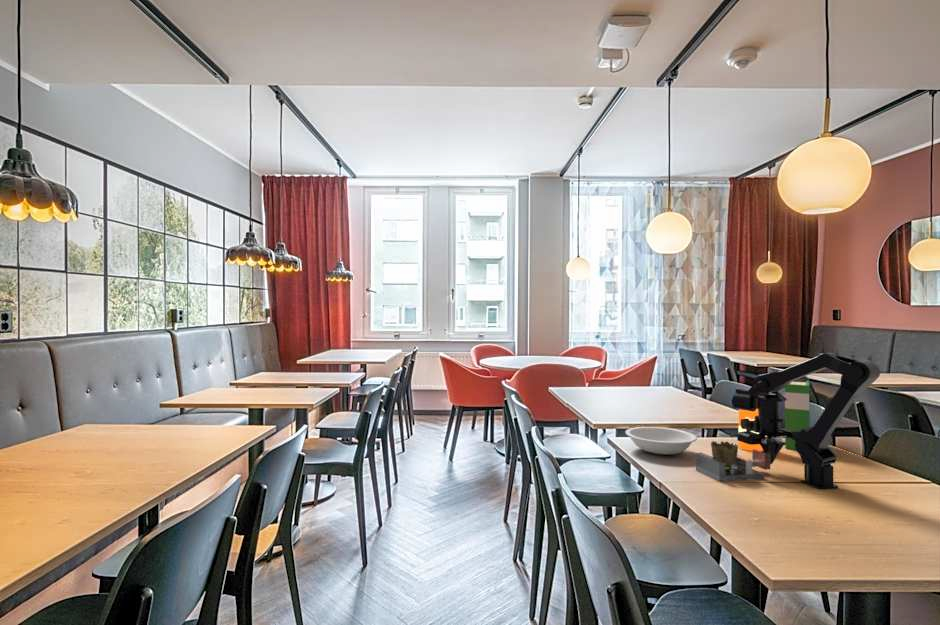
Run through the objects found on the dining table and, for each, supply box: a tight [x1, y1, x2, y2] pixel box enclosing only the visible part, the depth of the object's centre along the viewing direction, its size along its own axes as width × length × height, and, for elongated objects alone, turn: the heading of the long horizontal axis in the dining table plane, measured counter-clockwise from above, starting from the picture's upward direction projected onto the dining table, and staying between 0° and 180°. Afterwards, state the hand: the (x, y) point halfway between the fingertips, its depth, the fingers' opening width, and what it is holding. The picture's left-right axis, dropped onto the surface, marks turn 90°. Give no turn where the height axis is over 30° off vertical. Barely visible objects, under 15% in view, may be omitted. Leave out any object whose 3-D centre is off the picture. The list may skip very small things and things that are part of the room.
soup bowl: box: [624, 426, 698, 455], centre depth 173 cm, size 24×24×7 cm
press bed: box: [695, 452, 765, 482], centre depth 148 cm, size 11×15×6 cm
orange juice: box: [738, 409, 767, 451], centre depth 177 cm, size 8×9×20 cm
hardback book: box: [784, 380, 811, 451], centre depth 183 cm, size 18×7×24 cm, turn 145°
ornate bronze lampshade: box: [710, 440, 739, 471], centre depth 148 cm, size 8×7×8 cm
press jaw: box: [731, 449, 771, 474], centre depth 149 cm, size 11×11×5 cm
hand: (770, 463), depth 150 cm, fingers closed
